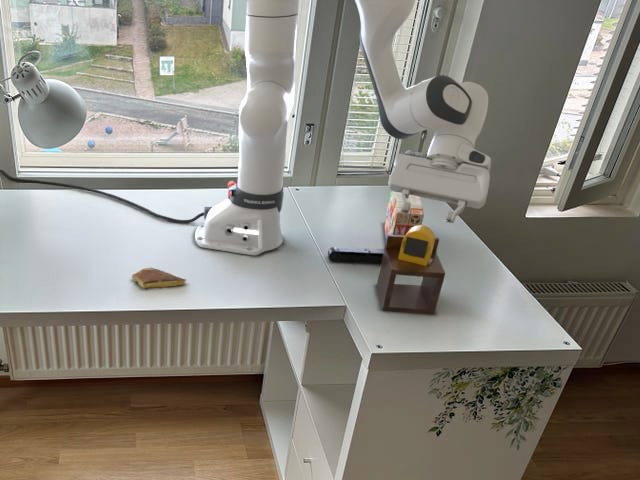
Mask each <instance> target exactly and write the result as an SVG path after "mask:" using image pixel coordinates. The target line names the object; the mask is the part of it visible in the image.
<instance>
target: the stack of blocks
mask: <svg viewBox="0 0 640 480" xmlns="http://www.w3.org/2000/svg"><path fill="white" fill-rule="evenodd" d="M406 200H407V202H408V203H411V207H410V210H409V213H404V212H401V208H402V205H403V201H402V195H401V193H399V192H395V191H390V192H389V196H388V202H387V203H388V204H387V208H386V215H385V219H384V235H385V240H386V239H387V235H388V234H389V235H404V236H405V235H406V234H407V232H408V231H409V230H410V229H411V228H412V227H414V226H417V225H423V220H424V217H425V212H424V207H423V202H422V200H421V197H419V196H414V195H409V197H408V198H406Z"/></svg>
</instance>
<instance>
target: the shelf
mask: <svg viewBox="0 0 640 480" xmlns="http://www.w3.org/2000/svg"><path fill="white" fill-rule="evenodd" d="M404 237H405V236H404V235H389V234H388V235H387V239H386V238H385V244H384V253H383V258H382V262H381V264H380V266H379V267H380V268H379V272H378V275H377V276H378V277H377V281H376V290H377V295H378V298H379V302H380V306H381V309H382V311H383V312H385V311H386V312H387V311H388V312H400V313H410V314H411V313H413V314H426V315H428V314H429V315H435V313H436V308H437V305H438V302H439V299H440V294H441V291H442V288H443V283H444V279H445V277H446V272H445V269H444V267H443V265H442V262H441V260H440V258H439V256H438V254H437V253H438V252H437V250H438V247H439V242H440V238H439V237H435V243H434V247H433V250H432V254H431V258H430V259H433V260H432V263H431V264H430V265H428V264H427V266H424V265H420V264H416V263H412V262H408V261H403V260H399V259H398V258H399V253H400V249H401V245H402V240H403V238H404ZM397 276H407V277H419V278H420V277H422V279H421V283H420V285H418V284H417V285H416V284H402V283H396V279H397Z"/></svg>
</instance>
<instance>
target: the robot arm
mask: <svg viewBox="0 0 640 480" xmlns="http://www.w3.org/2000/svg"><path fill="white" fill-rule="evenodd" d="M354 2H355V4H356V7H357V11H358V14H359V20H360V30H359V34H358V35H359V44H360V49H361V52H362V56H363V59H364V63H365V65H366V68H367V69H366V70H367V73H368V75H369V78H370V81H371V84H372V87H373V91H374V94H375V97H376V101H377V107H378V115H379V121H380V124H381V126H382V128H383V130H384V131H385V132H386V133H387V134H388V135H389V136H390V137H392V138H394V139H397V140H405V139H407V138H410V137H412V136H414V135H417V134H418V133H420V132H424V131H427V130H431V131H432V132H433V133H434V135H433V138H432V140H431V142H430V145H429V148H428V151H427V152H426V153H424V152H418V151H417V152H416V151H412V150H405V151H402V152H400V153H399V154H398V155H396V158H395V161H394V168H393V169H392V171H391V173H390V175H389V178H388V181H387V182H388V188H389V189H390V192H399V193H401V195H402V201H403V205H402V208H401V212H404V213H409V210H410V207H411V203H408V202H407V200H406V198H408V197H409V195H414V196H419V197H420V198H424V199H429V200H433V201H439V202H443V203H448V204H453V205H457V206H456V208H455V209H454V210H453V211H448V212H447V216H446V219H445V222H447V223H449V224H454V223H455V219H456V217H458V216H459V215H460V214H461V213H462V212H463V211H465V208H466V207H468V208H472V209H477V210H480V209H481V208H483V207H485V205H486V202H487V198H488V193H489V188H490V181H491V174H490V172H491V168H492V158H491V157H490V156H489V155H487V154H485V153H483V152H481V151H479V150H477V149H476V147H475V146H476V141H477V138H479V136H480V134H481V132H482V129H483V127H484V124H485V120H486V117H487V114H488V108H489V95H488V92H487V91H486V88H484V87H483V86H482V85H481V84H478V83H476V82H472V81H463V82H457V81H456V80H455V79H454V78H452V77H450V76H448V75H443V74H439V75H436V76H433V77H431V78H428V79H424V80H422V81H421V82H418V83H417V84H414V85H411V86H410V87H407V86H405V85H404V84H403V82H402V78H401V75H400V72H399V68H398V65H397V62H396V58H395V55H394V50H393V49H394V48H393V47H394V42H395V41H394V40H395V38H396V36H397V34H398V32H399V30H400V29H401V28H402V27H403V25H404V24H405V22H406V21H407V20H408V18H409V17H410V15H411V13H412V11H413V9H414V5H415V2H416V0H354ZM299 3H300V0H246V14H245V43H244V55H245V63H246V78H247V79H246V80H247V81H246V82H247V86H246V92H245V96H244V97H243V98H242V101H241V102H240V104H239V109H238V146H239V149H238V151H239V157H238V169H237V183H236V182H235V180H230V181H228V183H227V189H228V193H227V198H226V199H224V200H223V201H221V202H219V203H218V204H216V205H215V206H204V209H203V211H204V212H203V211H202V212H200V213H199V214H196V216H194V217H193V218H190V219H176V218H173V217H169V216H166V215H163V214H159V213H156V212H155V211H152V210H150V209H148V208H146V207H145V206H142V205H140V204H138V203H135V202H133V201H131V200H128V199H126V198H123V197H120V196H118V195H115V194H112V193H109V192H105V191H102V190H98V189H95V188H90V187H85V186H81V185H76V184H75V185H74V184H68V183H61V182H54V181H43V180H37V179H28V178H19V177H18V178H17V177H13V176H10V175H9V174H8V173H7V172H6V171H4V170H3V169H0V173H1V174H2V175H3V176H4V177H6V179H8V180H10V181H14V182H21V183H29V184H30V183H31V184H40V185H49V186H56V187H63V188H70V189H76V190H82V191H86V192H92V193H95V194H99V195H103V196H105V197H109V198H112V199H115V200H117V201H120V202H123V203H126V204H128V205H131V206H132V207H135V208H137V209H139V210H141V211H143V212H146V213H147V214H149V215H151V216H154V217H156V218H158V219H161V220H164V221H168V222H172V223H176V224H177V223H178V224H189V223H190V224H191V223H194V222H195V221H198V219H200V218H202V217H203V219H204V222H203V223H201V224H199V225H198V227H197V228H196V230H195V234H194V241H195V243H196V245H198V247H200V248H204V249H211V250H217V251H223V252H229V253H236V254H240V255H241V254H242V255H249V256H258V255H261V254H262V253H265V252H268V251H272V250H275V249H277V248H279V247H280V246H281V245H282V244H283V241H284V240H283V235H282V230H281V229H282V227H281V211H282V208H283V203H284V195H285V194H284V193H285V192H284V187H283V182H284V174H285V166H286V157H287V155H286V151H287V136H288V135H287V133H288V125H289V118H290V115H291V112H292V110H293V109H292V108H293V107H294V103H295V85H296V83H295V82H296V47H297V46H296V44H297V32H298V20H299V19H298V18H299Z"/></svg>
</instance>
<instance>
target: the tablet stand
mask: <svg viewBox="0 0 640 480" xmlns="http://www.w3.org/2000/svg"><path fill="white" fill-rule="evenodd" d="M383 253H384V249H382V248H364V247H345V246H343V247H342V246H332V247H330V248H328V249H327V257H328V260H329V261H330V262H332V263H345V264H346V263H348V264H355V263H357V264H373V265H374V264H375V265H381V262H382V258H383Z"/></svg>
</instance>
